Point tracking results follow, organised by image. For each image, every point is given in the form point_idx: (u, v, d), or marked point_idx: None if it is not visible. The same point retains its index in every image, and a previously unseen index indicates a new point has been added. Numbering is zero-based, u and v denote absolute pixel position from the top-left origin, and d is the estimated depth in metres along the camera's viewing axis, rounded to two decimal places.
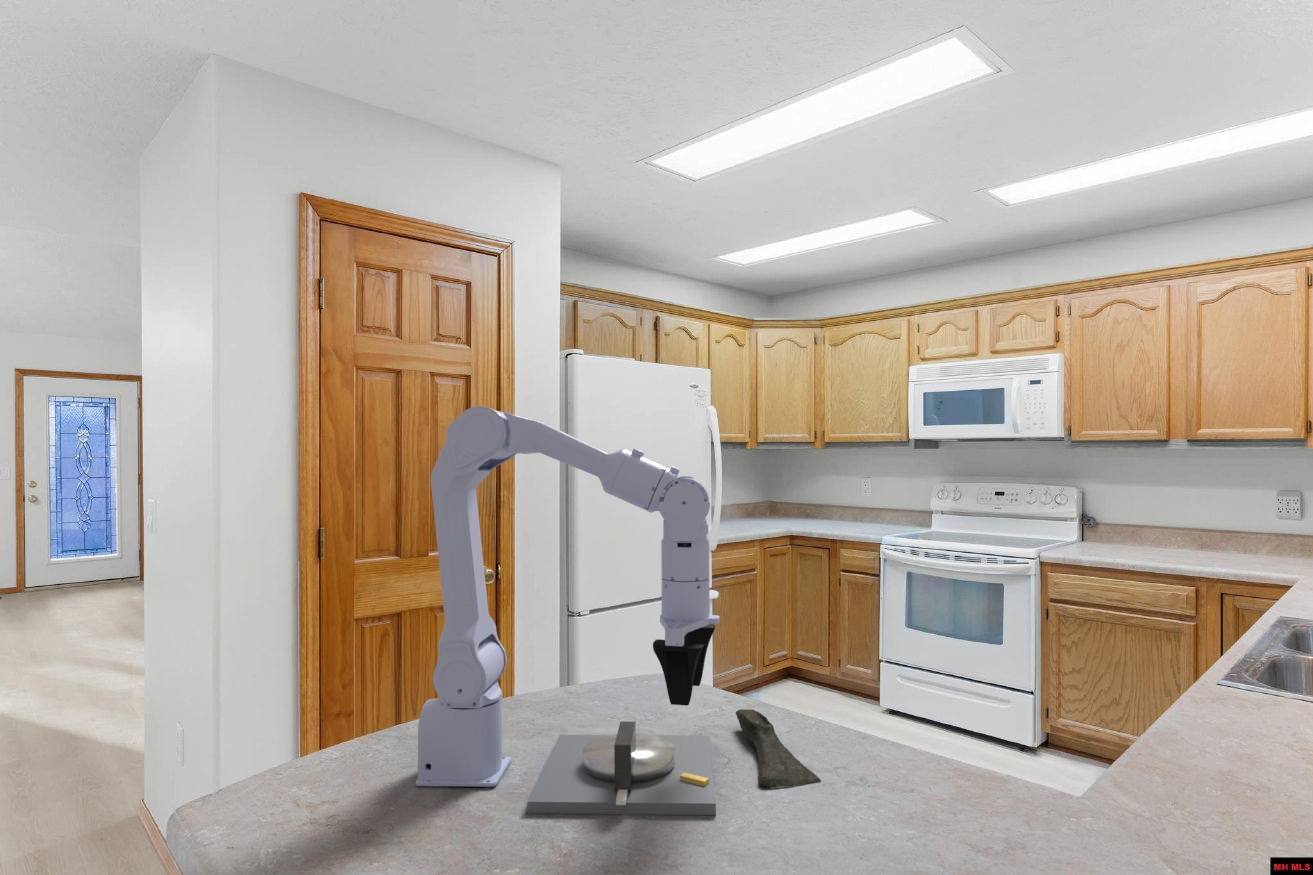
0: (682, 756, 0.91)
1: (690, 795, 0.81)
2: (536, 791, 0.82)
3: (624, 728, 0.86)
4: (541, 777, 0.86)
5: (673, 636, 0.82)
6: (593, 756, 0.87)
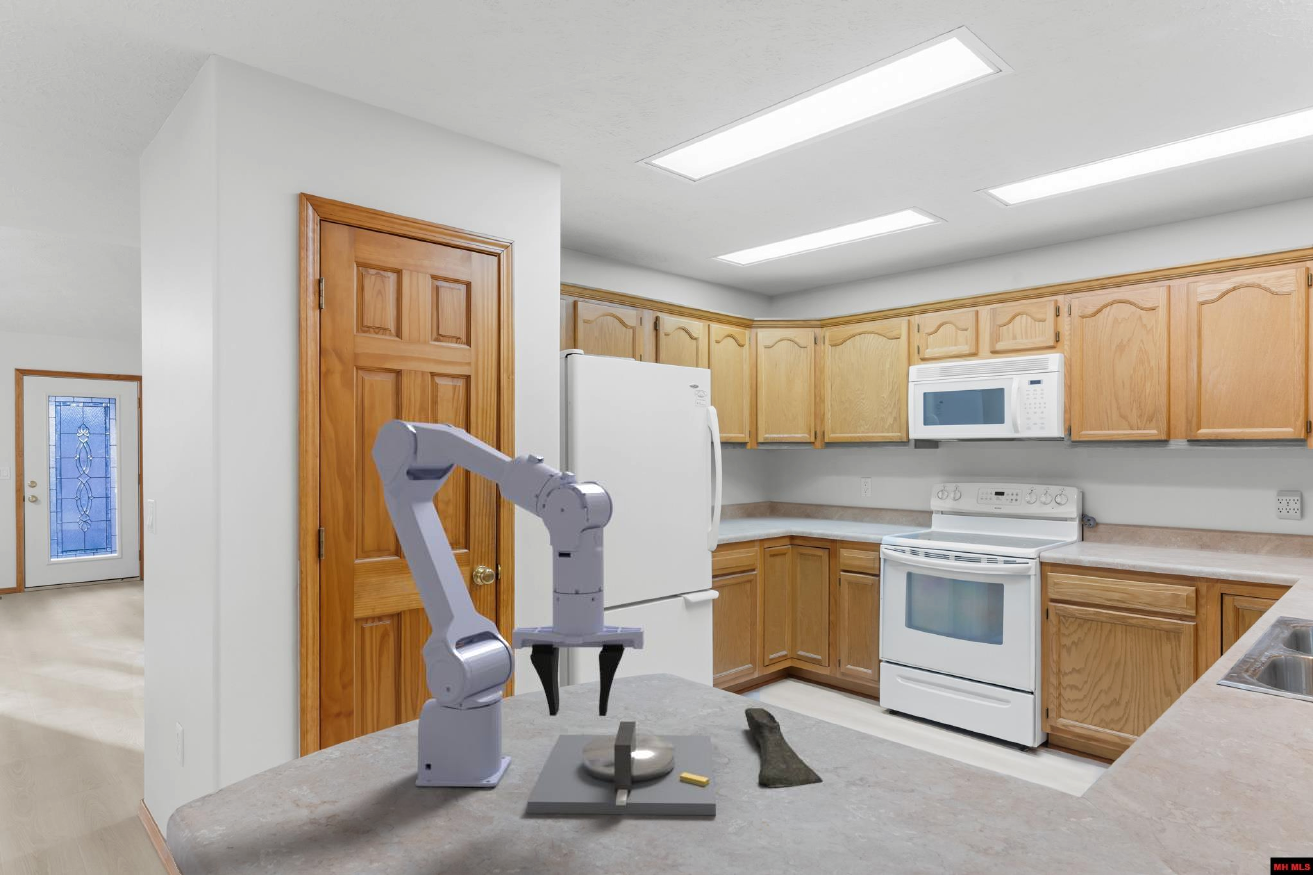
0: (682, 756, 0.91)
1: (690, 795, 0.81)
2: (536, 791, 0.82)
3: (624, 728, 0.86)
4: (541, 777, 0.86)
5: None
6: (593, 756, 0.87)
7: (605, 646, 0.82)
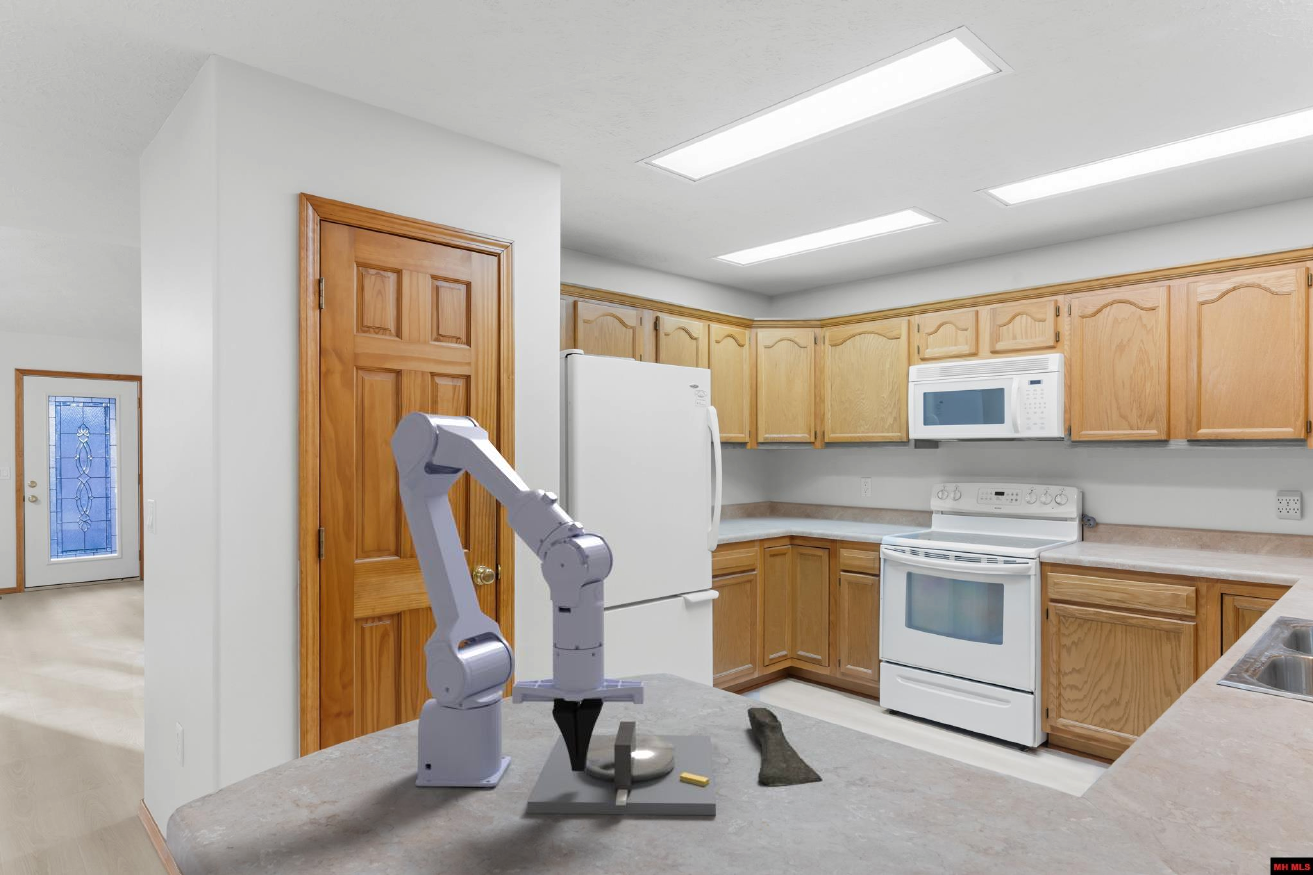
0: (682, 756, 0.91)
1: (690, 795, 0.81)
2: (536, 791, 0.82)
3: (624, 728, 0.86)
4: (541, 777, 0.86)
5: None
6: (593, 756, 0.87)
7: (584, 701, 0.82)
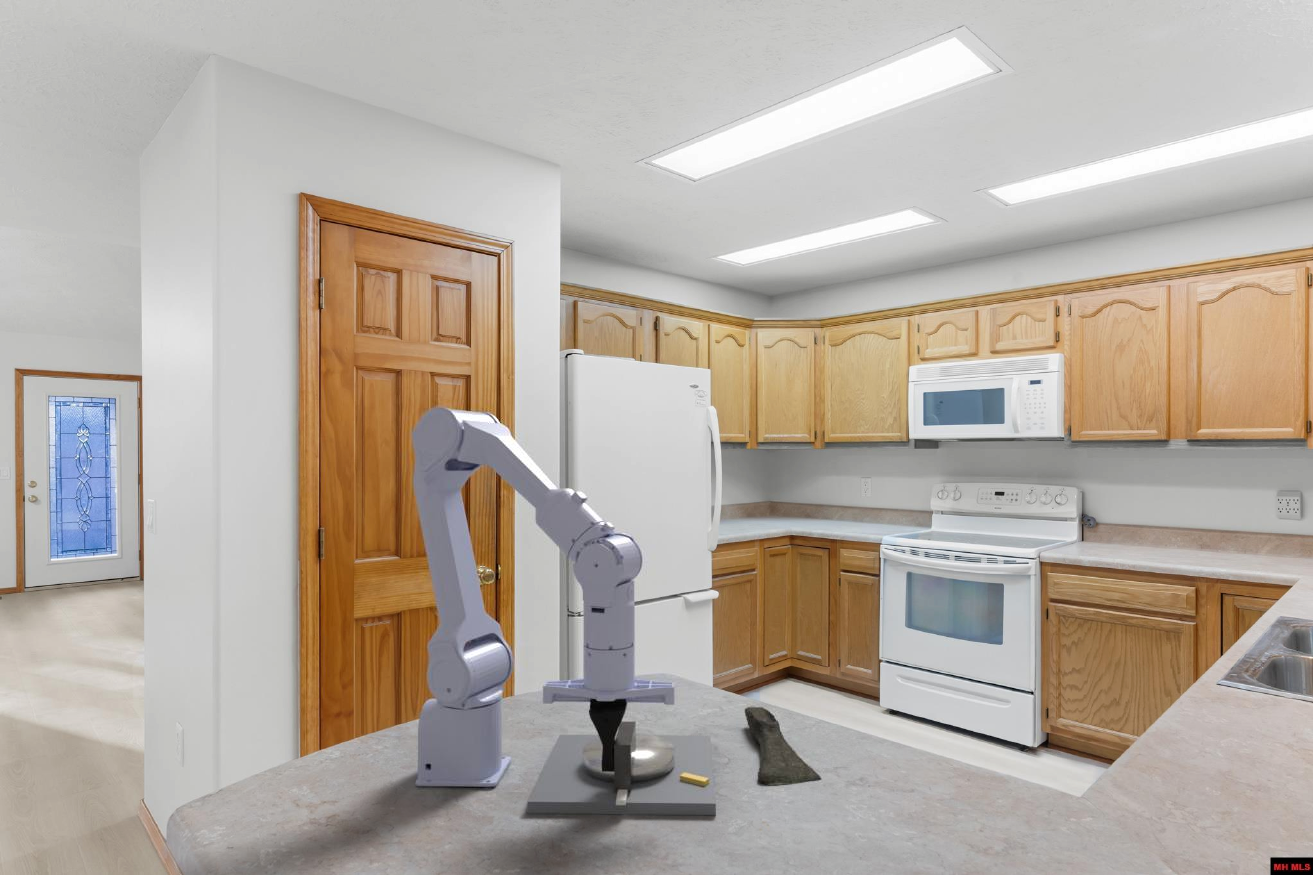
0: (682, 756, 0.91)
1: (690, 795, 0.81)
2: (536, 791, 0.82)
3: (624, 728, 0.86)
4: (541, 777, 0.86)
5: None
6: (593, 756, 0.87)
7: (608, 701, 0.82)
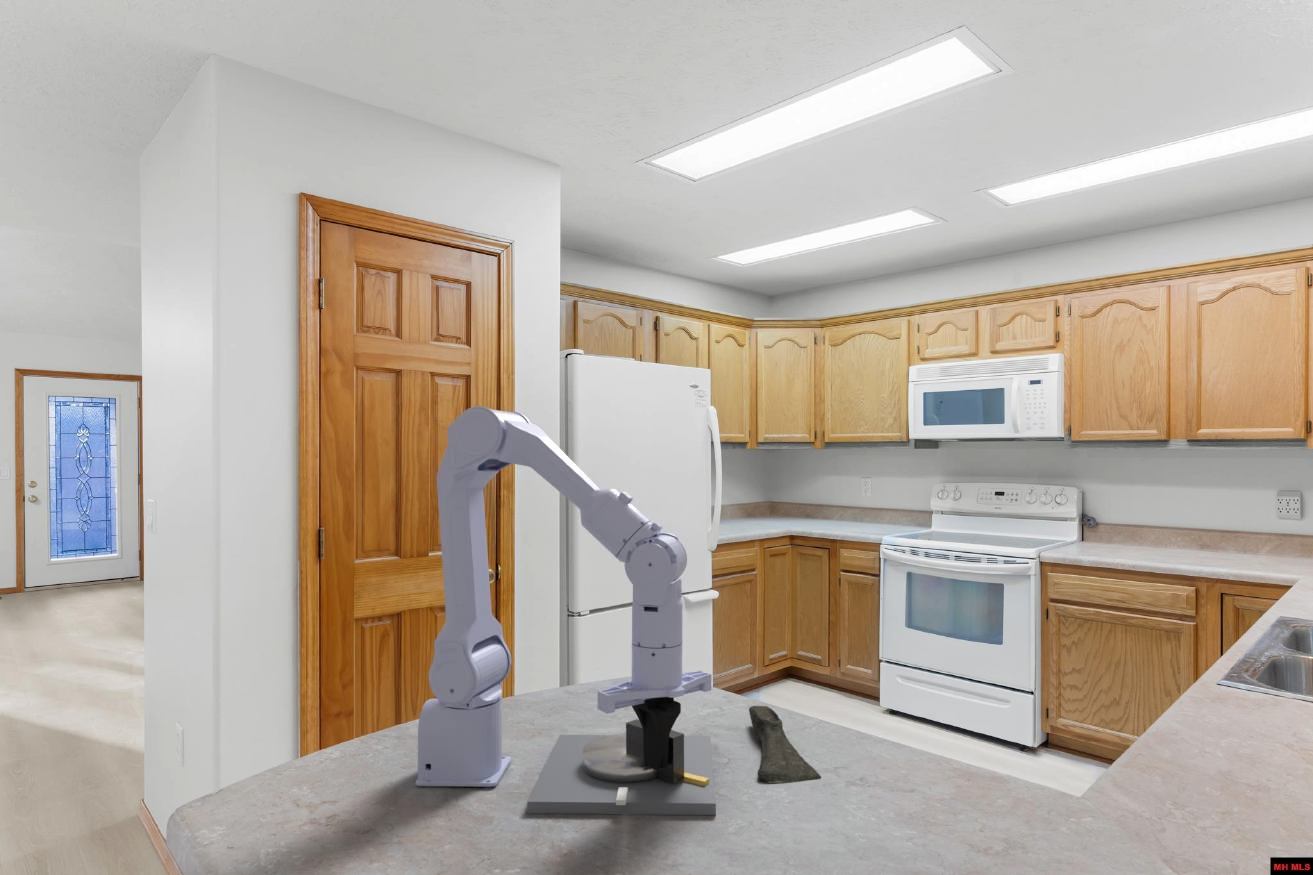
0: None
1: (690, 795, 0.81)
2: (536, 791, 0.82)
3: None
4: (541, 777, 0.86)
5: (602, 701, 0.80)
6: (617, 764, 0.85)
7: (659, 699, 0.83)
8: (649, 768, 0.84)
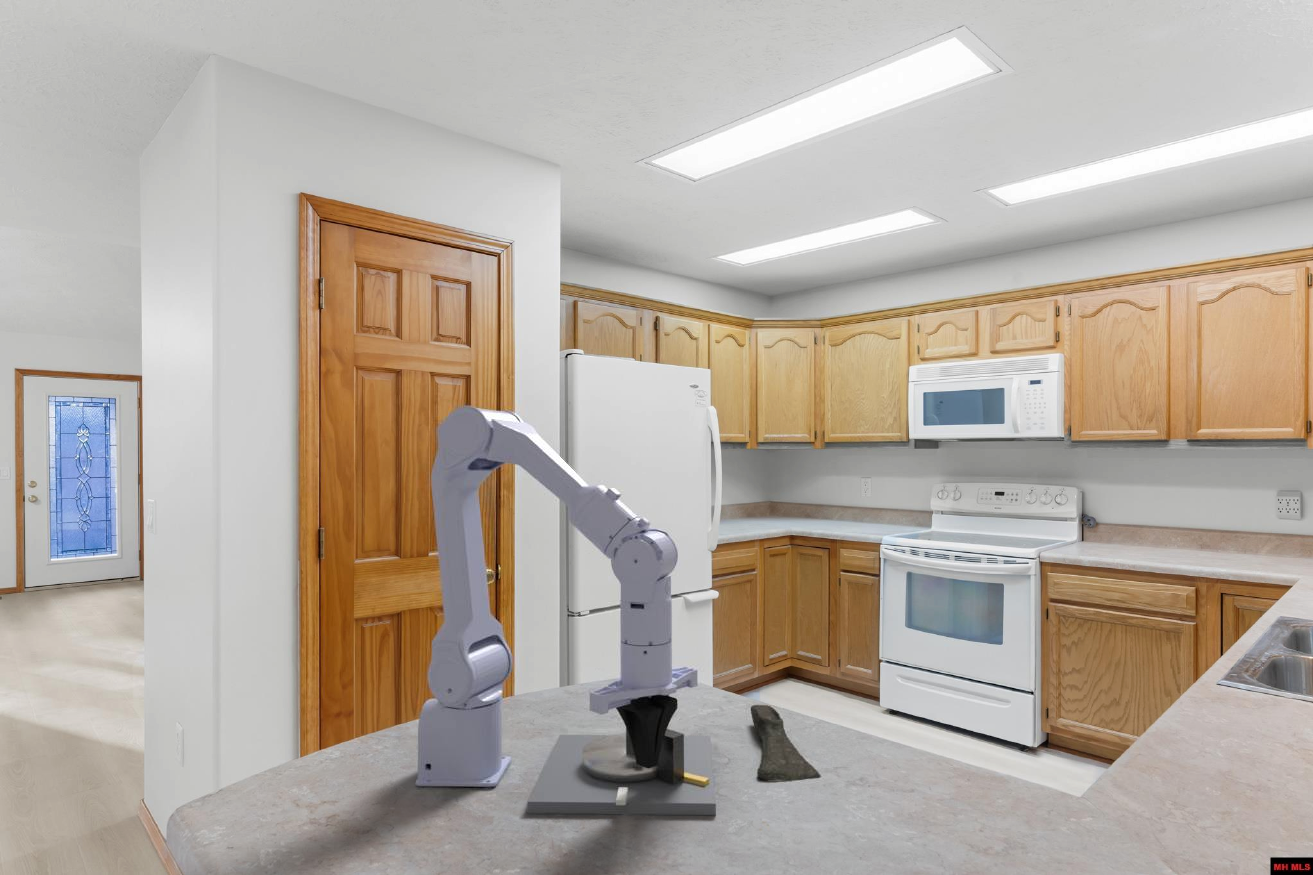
0: None
1: (690, 795, 0.81)
2: (536, 791, 0.82)
3: None
4: (541, 777, 0.86)
5: (595, 702, 0.78)
6: (617, 764, 0.85)
7: (656, 695, 0.83)
8: (649, 768, 0.84)
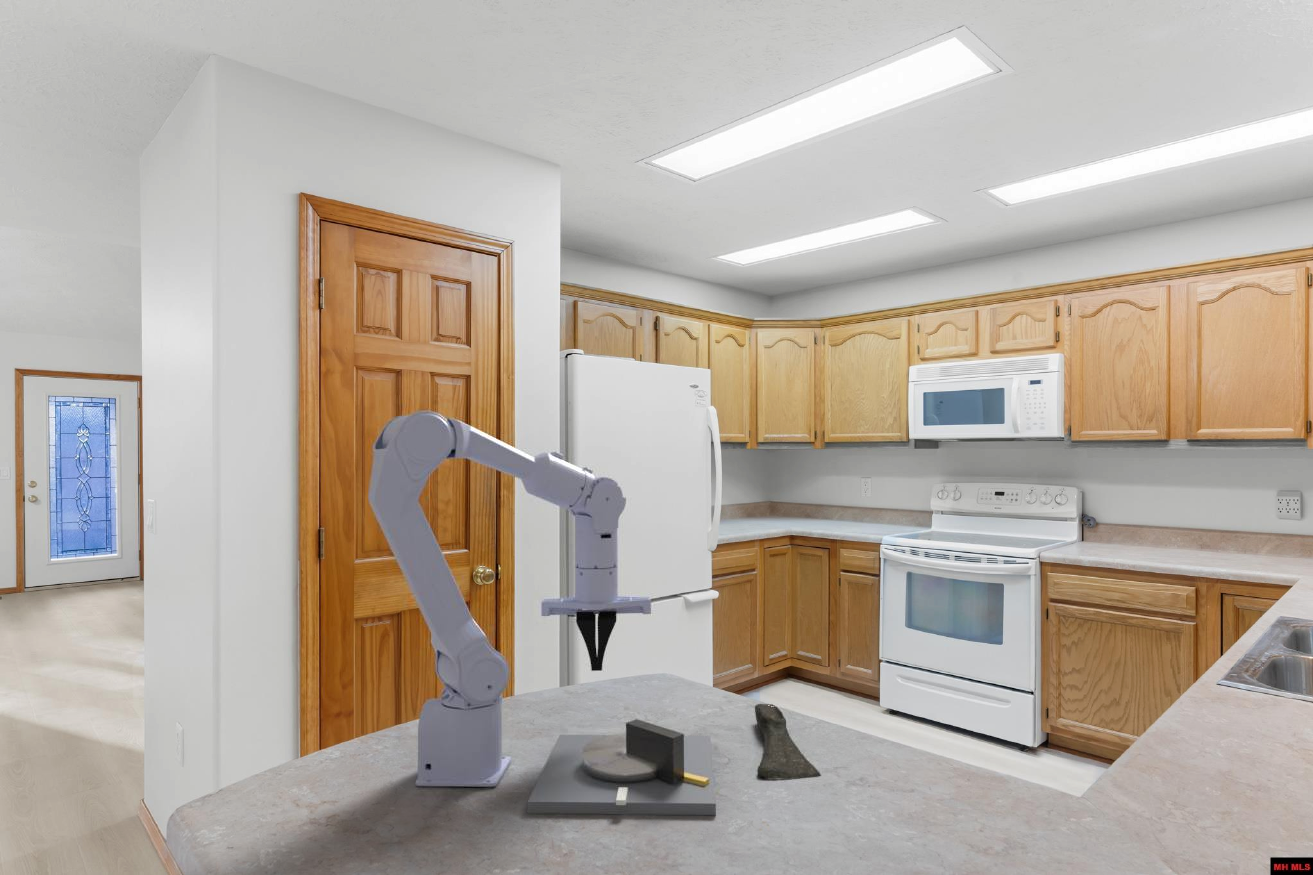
0: None
1: (690, 795, 0.81)
2: (536, 791, 0.82)
3: (644, 725, 0.87)
4: (541, 777, 0.86)
5: None
6: (617, 764, 0.85)
7: (601, 612, 0.99)
8: (649, 768, 0.84)
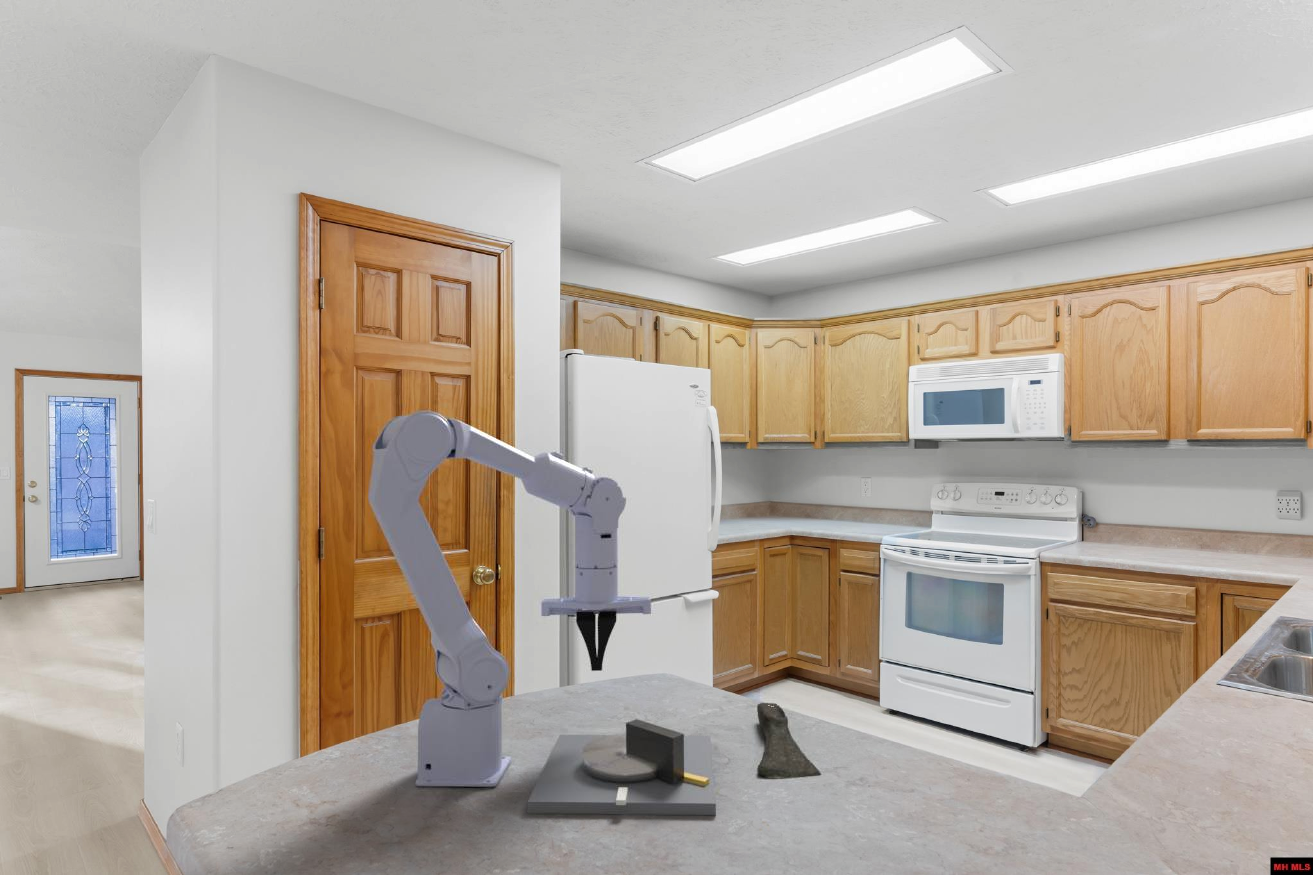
0: None
1: (690, 795, 0.81)
2: (536, 791, 0.82)
3: (644, 725, 0.87)
4: (541, 777, 0.86)
5: None
6: (617, 764, 0.85)
7: (601, 612, 0.99)
8: (649, 768, 0.84)
